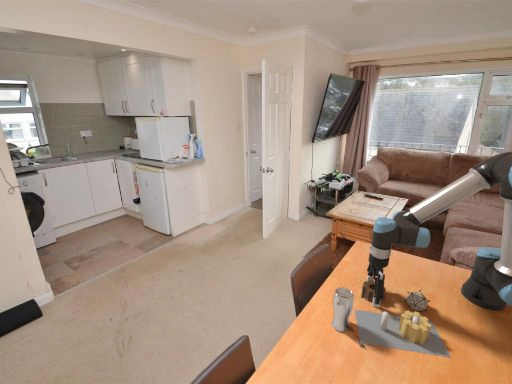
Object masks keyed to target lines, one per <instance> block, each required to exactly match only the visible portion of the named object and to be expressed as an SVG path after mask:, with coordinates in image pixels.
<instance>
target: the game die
mask: <svg viewBox="0 0 512 384" xmlns="http://www.w3.org/2000/svg"><path fill="white" fill-rule="evenodd" d="M403 302H404V303H406V304H407V305H408V306H409V307H410V309H412V310H414V311H416V312H418V311H420V312H421V311H425V312H428V309H427V307H428V304H429V302H431V300H429V299H428V298H427V297H426V296H425V295H424V294H423V293H422V289H421V288H420V289H419V291H418V290H417V291H414V292H409V291H407V297H406V299H405V300H403Z"/></svg>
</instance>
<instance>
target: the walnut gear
mask: <svg viewBox="0 0 512 384" xmlns="http://www.w3.org/2000/svg"><path fill="white" fill-rule="evenodd" d="M386 291H387V288H386V287H385V286H384V299H383V300H381V302H380V304H382V303H383V302H384V301H385V297H386ZM373 295H375V280H374V281H372V280H370V282H367V280H365V281H363V284H362V287H361V294H360V299H364V300H366V301H367V302H369V301H370V302H373Z"/></svg>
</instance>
